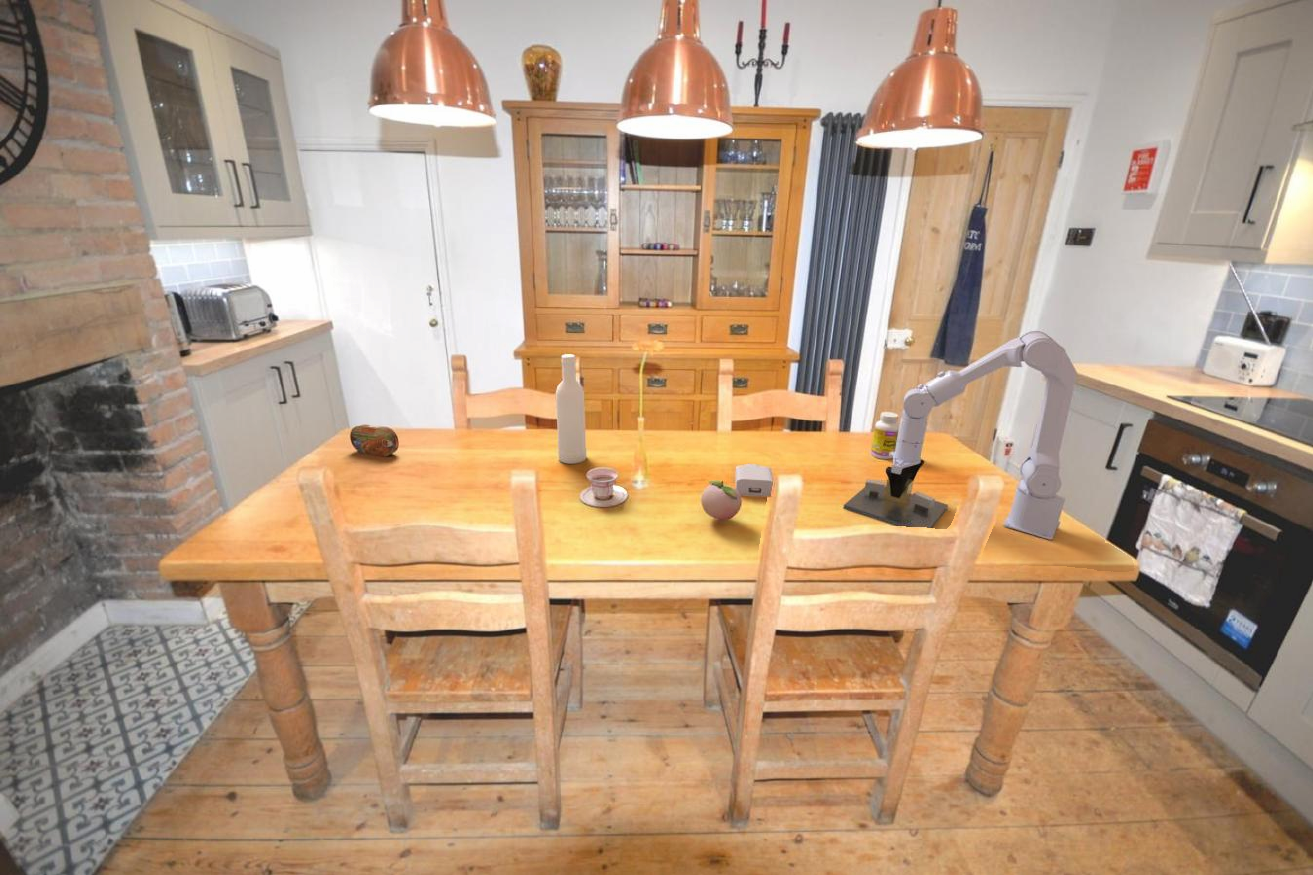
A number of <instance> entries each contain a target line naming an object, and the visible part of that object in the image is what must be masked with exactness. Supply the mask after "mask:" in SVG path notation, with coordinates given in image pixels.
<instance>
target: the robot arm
mask: <svg viewBox="0 0 1313 875" xmlns="http://www.w3.org/2000/svg"><path fill="white" fill-rule="evenodd" d="M1022 362H1023V363H1025V364H1026V365H1027V366H1028V367H1030V368H1032V369H1034V370H1036V371H1038V372H1040V373H1041V374H1042V375H1043V376H1044V377H1045V378H1046V381H1045V385H1044V386H1045V387H1044V391H1043V394H1042V400H1041V404H1040V410H1039V414H1038V418H1037V419H1038V420H1037V424H1036V428H1035V434H1034V438H1033V443H1032V446H1031V448H1030V449H1029V450H1028V453H1027V457H1026V458H1025V459H1024V460H1023V461H1022V462H1021V464H1020V468H1019V471H1020V474H1021V476H1022V479H1021V481H1020V482H1018V483H1017V487H1016V491H1015V494H1014V499H1013V501H1012V505H1011V509H1010V512H1009V514H1008V515H1007V517H1006V519H1005V521H1004V522H1003V526H1004V527H1005V528H1009V529H1012V530H1016V531H1019V532H1023V533H1026V534H1030V535H1032V536H1035V537H1039V538H1043V539H1046V540H1050V541H1052V540H1053V538H1054V536H1055V533H1056V531H1057V530H1059V527H1060V525H1061V521H1060V518H1061V515H1062V511H1063V508H1064V505H1065V501H1066V497H1063V496H1060V495H1058V494H1057V493H1059V491H1060V490H1061V487H1062V479H1061V477H1060V468H1061V465H1060V450H1061V446H1062V443H1063V437H1064V434H1065V429H1066V425H1067V421H1068V416H1069V411H1070V408H1071V404H1072V399H1073V395H1074V390H1075V385H1076V382H1077V377H1078V372H1077V369H1076V368H1075V366H1074V364H1073V362H1072V361H1071V359H1070V358H1069V356H1068V353H1067V352H1066V349H1065V348H1064V347H1063V346H1061V345H1060V344H1059V343H1058V342H1057V341H1056V340H1055V339H1054V338H1052V337H1050V336H1049V335H1048V334H1047V333H1045V332H1044V331H1040V330H1031V331H1027V332H1025V333H1024V334H1022V335H1021V336H1020V337H1015V338H1012V339H1011V340H1009V341H1007V342H1006V343H1004V344H1002V345H1001V346H999V347H997V348H995V349H994V350H992V351H991V352H988V354H986V355H983V357H980V358H979V359H977V360H976V361H973V363H971V364H969V365H968V366H965V367H964V368H963V369H961V370H959V371H958V370H951V369H949V370H947V371H946V372H945V371H944V370H942V371H940V372H938V373H937V375H938V376H937V377H934V378H933V379H931V380H930V381H929V380H928V382H926V383H924V384H923V383H920V384H918V385H917V388H916V387H915V388H911V389H910V390H908V391H907V392H906V393H905V395H904V397H903V399H902V403H903V411H902V412H901V418H900V421H899V431H898V437H897V443H896V448H895V452H890V453H889V456H890V457H893V458H892V460H893V461H892V463H893V464H891V466H887V467H886V468H885V474H886V476H887V479H889V484H890V494H891V496H892V497H896V498H900V497H901V495H902V493H903V490H904V487H905V485H906V483H907V481H908V479H910V480H914V481H915V479H916V476H917V474H918V472H919V470H920V469H921V467H923V465H924V464H925V460H924V459H922V452H923V447H924V446H923V445H924V441H925V436H926V429H927V425H928V423H927V419H928V416H929V415H930V413H931V412H932V409H933V408H934V407H935V408H936V407H939V406H940V405H943V404H944V403H947V402H948V401H950V400H952V399H954V398H956V397H957V396H959V395H961V394H963V393H964V392H965V391H966V387H967V385H968V384H970V383H972V382H974V381H977V380H978V379H981V378H983V377H985V376H986V375H989V374H991V373H993V372H995V371H997V370H999V369H1002V368H1003V367H1012V368H1013V367H1015V368H1023V364H1022Z"/></svg>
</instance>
